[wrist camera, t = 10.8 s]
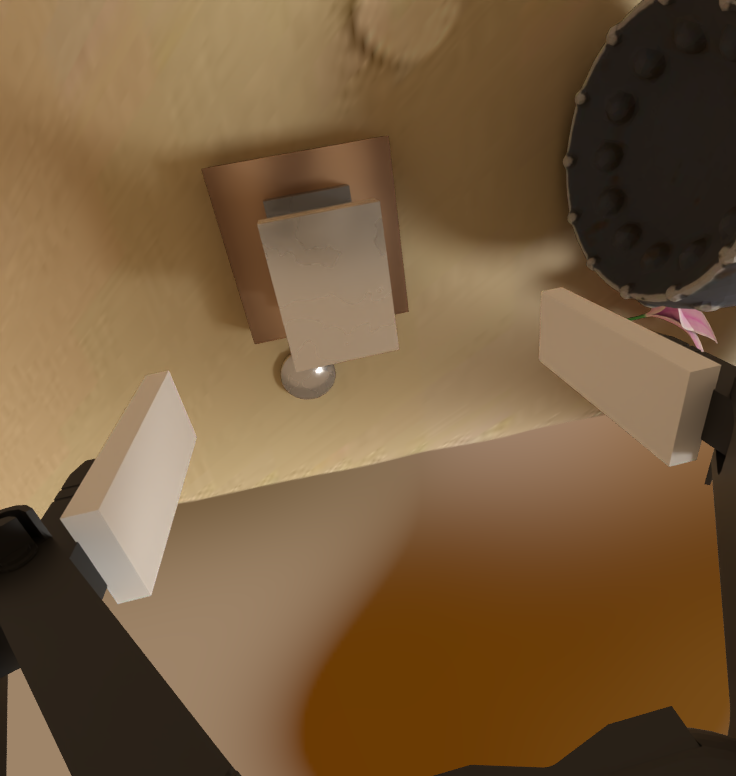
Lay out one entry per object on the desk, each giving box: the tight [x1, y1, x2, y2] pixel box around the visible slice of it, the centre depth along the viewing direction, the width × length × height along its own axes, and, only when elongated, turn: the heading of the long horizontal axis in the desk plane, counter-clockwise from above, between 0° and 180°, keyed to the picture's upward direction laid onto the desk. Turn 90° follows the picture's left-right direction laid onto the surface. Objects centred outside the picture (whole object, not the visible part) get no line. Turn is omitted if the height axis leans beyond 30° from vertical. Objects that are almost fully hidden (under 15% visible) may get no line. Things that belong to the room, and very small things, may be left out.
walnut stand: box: [202, 136, 409, 344], centre depth 35 cm, size 13×13×3 cm
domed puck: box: [281, 354, 335, 399], centre depth 42 cm, size 5×5×1 cm
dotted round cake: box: [563, 0, 736, 312], centre depth 29 cm, size 11×20×20 cm, turn 9°
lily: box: [626, 306, 718, 352], centre depth 41 cm, size 12×12×10 cm
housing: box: [257, 184, 399, 372], centre depth 29 cm, size 6×8×12 cm
